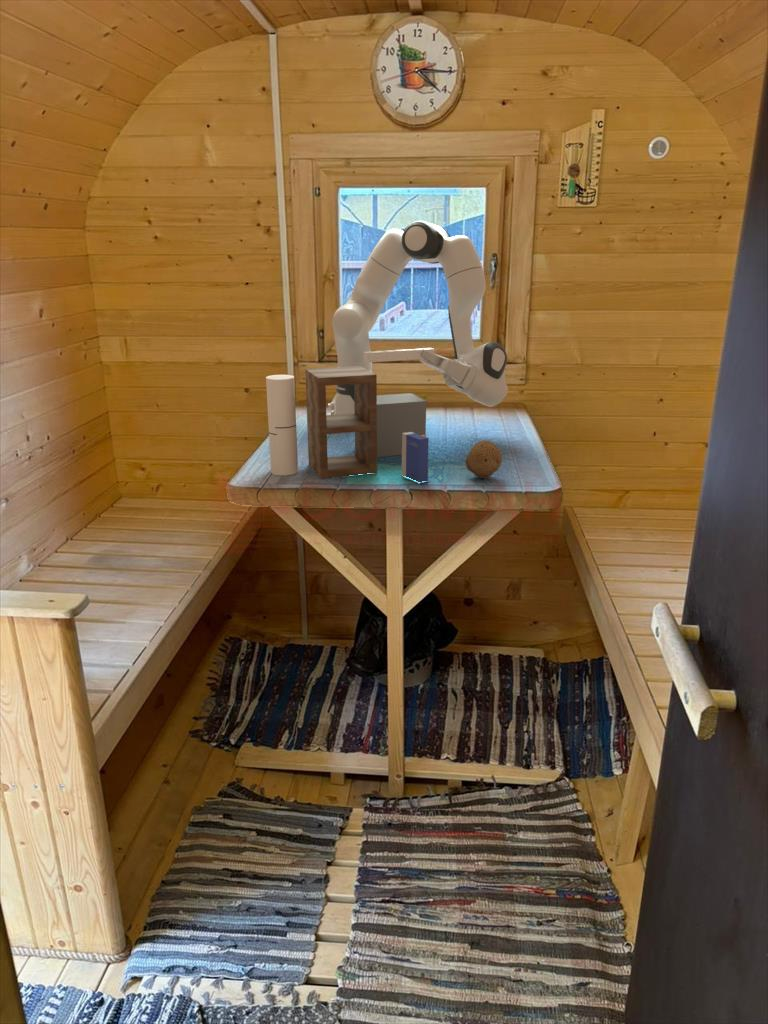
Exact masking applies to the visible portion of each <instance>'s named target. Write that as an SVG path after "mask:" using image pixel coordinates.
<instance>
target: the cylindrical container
mask: <svg viewBox="0 0 768 1024" xmlns="http://www.w3.org/2000/svg"><path fill="white" fill-rule="evenodd" d="M265 383H266V384H265V387H266V402H267V406H266V407H267V421H268V423H267V424H268V440H269V453H270V454H269V459H270V461H269V462H270V473H271V474H272V475H275V476H291V475H295V474H297V473H298V472H299V461H298V459H299V457H298V456H299V455H298V437H297V435H298V434H297V415H296V414H297V413H296V410H297V409H296V394H295V393H296V386H295V376H294V375H291V374H272V375H268V376H266V377H265Z"/></svg>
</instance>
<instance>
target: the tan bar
mask: <svg viewBox="0 0 768 1024" xmlns="http://www.w3.org/2000/svg"><path fill="white" fill-rule="evenodd" d="M423 351H427V352H429V353H430V354H433V355H434V354H435V348H432V347H422V348H408V349H407V348H406V349H390V350H389V349H388V350H374V351H373V350H370V351H368V352H364V361H365V362H367V363H368V362H372V363H381V362H382V363H383V362H396V361H413V360H415V361H416V360H420V359H426V358H424V357H422V356H421V354H422V352H423Z"/></svg>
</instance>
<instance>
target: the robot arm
mask: <svg viewBox="0 0 768 1024" xmlns="http://www.w3.org/2000/svg"><path fill="white" fill-rule="evenodd" d="M412 260H416V261H420V262H421V263H428V264H433V265H434V264H440V265H441V267H442V269H443V272H444V276H445V279H446V283H447V290H448V298H449V300H448V309H447V312H448V321H449V326H450V327H449V328H450V333H451V341H452V344H453V345H452V347H453V351H454V352H453V353H454V358H453V359H452V358H448V357H445V356H442V355H439V354H437V353H434V355H433V354H430V353H429V352H427V351H423V352H422V354H421V356H422V357H424V358H426V359H419V362H420V363H421V364H424V365H425V366H427V367H429V368H431V369H432V370H435V371H437V372H438V373H441V374H442V378H443V379H444V383H445V385H446V386H448V387H449V388H451V389H453V390H455V391H457V392H458V393H461V394H465V395H466V396H468V398H470V399H471V400H472V401H475V402H476V403H479V404H480V405H481V404H482V405H483V406H485V407H490V408H491V407H495V406H497V405H499V404H501V403H502V402H503V401H504V400H505V398H506V397H507V394H508V392H509V388H508V385H507V383H506V382H507V381H506V367H507V363H508V354H507V352H506V350H505V348H504V347H503V346H502V345H501V344H500V343H498V342H496V341H489V342H486V343H484V344H480V345H478V346H477V347H475V345H474V340H473V334H472V328H471V318H472V315H473V312H474V311H475V309H476V307H477V306H478V304H479V303H480V302H481V301H482V299H483V297H484V295H485V293H486V290H487V289H486V287H487V284H486V283H487V282H486V275H485V272H484V269H483V265H482V263H481V259H480V256H479V254H478V251H477V249H476V247H475V245H474V243H473V241H472V240H471V238H470V237H468V236H466V235H460V234H459V235H455V236H454V235H453V236H451V235H450V234H449V232H448V231H447V230H446V229H445V228H442V227H441V226H439V225H438V224H435V223H431V222H428V221H425V220H416V221H413V222H410V224H408V225H407V226H406V227H405V228H404V230H402V229H399V228H391V229H389V230H387V231H386V232H385V233H384V235H383V236H382V237H381V238H380V239H379V240H378V242H377V244H375V247H374V248H373V250H372V251H371V253H370V255H369V256H368V258H367V259H366V261H365V264H364V265H363V267H362V269H361V271H360V272H359V275H358V276H357V278H356V282H355V284H354V287H353V288H352V291H351V293H350V295H349V298H348V299H347V301H346V303H345V304H343V305H341V306H339V307H338V308H337V309H336V310H335V312H334V313H333V317H332V320H331V321H332V322H331V326H332V329H333V336H334V343H335V349H336V355H337V367H350V366H361V367H363V368H365V369H367V370H369V371H371V372H373V362H368V363H367V362H365V361H364V352H368V351H371V345H370V336H369V332H371V330H372V329H373V327H374V325H375V324H376V322H377V320H378V318H379V316H380V314H381V312H382V310H383V309H384V306H385V304H386V302H387V300H388V298H389V296H390V295H391V292H392V291H393V289H394V288H395V285H396V284H397V283H398V280H399V279H400V277H401V275H402V273H403V272H404V270H405V268H406V266H407V264H409V262H410V261H412ZM335 388H336V391H335V392H336V394H335V395H334V397H333V399H332V401H331V402H328V403H327V410H328V411H330V412H329V413H326V415H337V414H351V413H355V409H354V384H345V385H335Z"/></svg>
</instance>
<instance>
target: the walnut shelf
mask: <svg viewBox="0 0 768 1024" xmlns="http://www.w3.org/2000/svg"><path fill="white" fill-rule="evenodd" d="M304 371H305V397H306V400H305V401H306V421H307V423H306V424H307V451H308V456H307V457H308V465H309V467H310V468H311V469H312V470H313V472H315V474H316V475H317V477H319V478H320V479H321V480H324V479H323V478H330V479H333V478H332V477H340V478H343V477H342V476H349V475H358V474H367V473H376V472H377V473H378V457H377V388H378V387H377V386H378V385H377V382H378V381H377V374H376V373H375V372H373V371H372V372H371V371H369V370H367V369H365V368H363V367H361V366H350V367H338V366H335V367H318V368H305V370H304ZM345 384H354V409H355V413H351V414H337V415H326V414H327V392H326V391H327V389H326V388H327V386H336V385H345ZM347 433H354V454H348V455H339V456H337V455H336V456H329V455H328V435H335V434H347Z"/></svg>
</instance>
